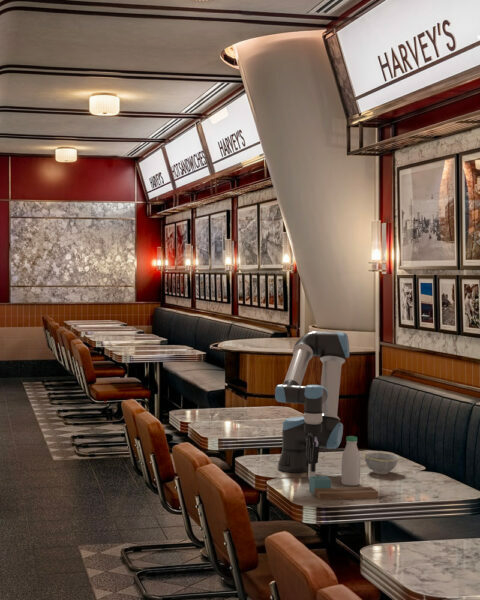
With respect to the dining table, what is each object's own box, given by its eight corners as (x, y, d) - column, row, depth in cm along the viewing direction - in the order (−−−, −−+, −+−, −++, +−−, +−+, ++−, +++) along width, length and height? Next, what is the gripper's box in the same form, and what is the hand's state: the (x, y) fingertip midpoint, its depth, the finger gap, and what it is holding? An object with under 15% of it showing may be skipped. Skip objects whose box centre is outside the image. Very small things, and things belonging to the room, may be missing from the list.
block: (309, 490, 359) (309, 476, 359) (325, 490, 360) (325, 475, 360) (314, 495, 352) (314, 480, 352) (331, 494, 353) (331, 479, 353)
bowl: (404, 472, 397) (404, 455, 397) (390, 478, 384) (391, 461, 384) (371, 467, 406) (372, 450, 406) (356, 473, 393) (357, 456, 392)
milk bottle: (359, 486, 367) (360, 438, 367) (340, 485, 369) (341, 437, 368) (360, 482, 375) (361, 435, 374) (342, 481, 377) (343, 434, 376)
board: (313, 494, 352) (314, 488, 352) (370, 493, 357) (370, 486, 357) (319, 499, 344) (320, 493, 344) (378, 498, 349) (378, 491, 349)
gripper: (300, 419, 372) (298, 475, 373) (308, 425, 359) (307, 483, 361) (317, 419, 374) (315, 474, 375) (326, 425, 361) (325, 482, 362)
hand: (311, 478), depth 368 cm, fingers closed
